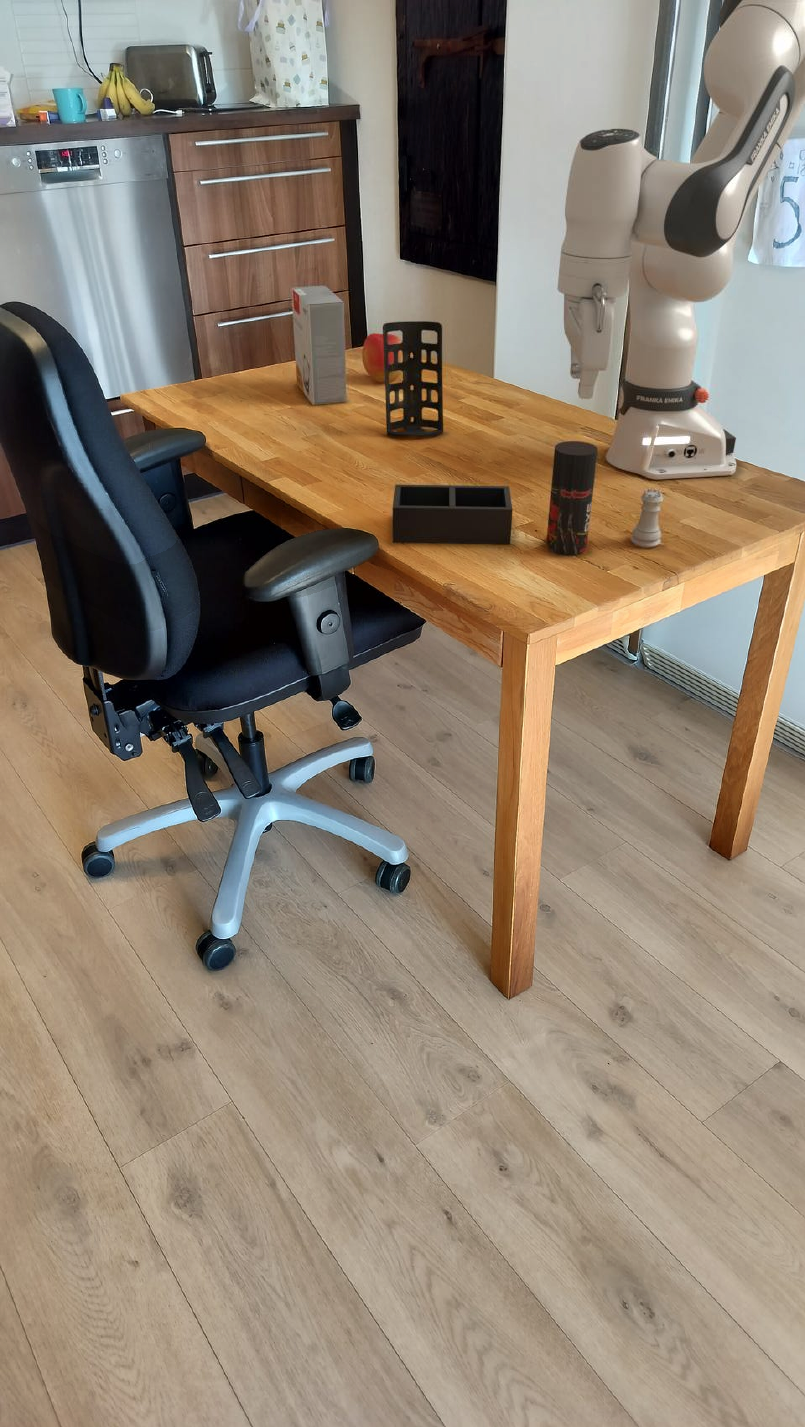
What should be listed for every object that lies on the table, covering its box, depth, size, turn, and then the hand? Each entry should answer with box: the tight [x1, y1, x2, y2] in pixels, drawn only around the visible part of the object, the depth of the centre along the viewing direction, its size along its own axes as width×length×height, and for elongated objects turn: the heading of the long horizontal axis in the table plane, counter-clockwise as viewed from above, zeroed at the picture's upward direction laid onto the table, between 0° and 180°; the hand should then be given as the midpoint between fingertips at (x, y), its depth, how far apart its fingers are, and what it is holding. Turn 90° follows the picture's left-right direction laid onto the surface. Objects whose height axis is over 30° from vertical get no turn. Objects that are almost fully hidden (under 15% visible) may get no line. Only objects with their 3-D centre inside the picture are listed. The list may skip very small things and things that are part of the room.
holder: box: [382, 320, 444, 438], centre depth 185 cm, size 11×8×20 cm
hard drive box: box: [290, 285, 348, 406], centre depth 205 cm, size 16×8×20 cm, turn 17°
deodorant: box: [545, 440, 599, 557], centre depth 143 cm, size 6×6×15 cm
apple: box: [361, 332, 403, 384], centre depth 215 cm, size 10×10×10 cm
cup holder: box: [392, 483, 514, 546], centre depth 150 cm, size 9×18×6 cm, turn 88°
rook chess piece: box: [630, 488, 664, 549], centre depth 146 cm, size 4×4×8 cm
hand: (580, 387), depth 134 cm, fingers open, 8 cm apart
